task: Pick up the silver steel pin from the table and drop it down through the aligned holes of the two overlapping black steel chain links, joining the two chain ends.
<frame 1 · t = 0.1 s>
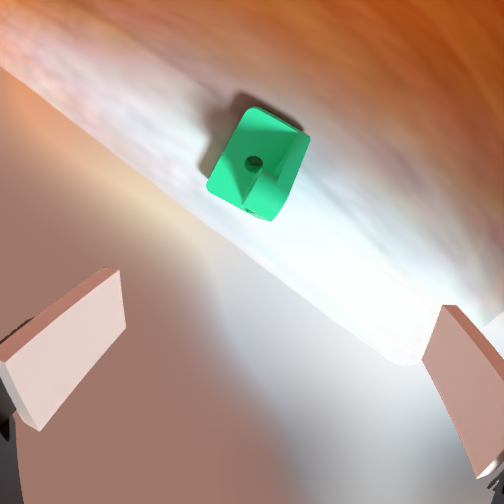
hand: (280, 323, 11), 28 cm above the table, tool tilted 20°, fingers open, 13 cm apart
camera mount: (256, 157, 36), on the table
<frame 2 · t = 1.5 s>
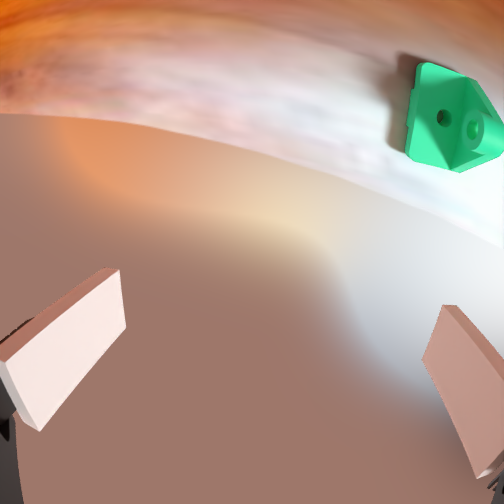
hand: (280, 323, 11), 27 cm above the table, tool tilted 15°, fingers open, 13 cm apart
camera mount: (434, 114, 28), on the table
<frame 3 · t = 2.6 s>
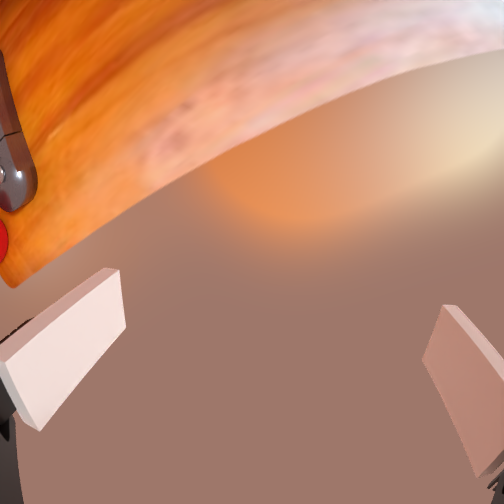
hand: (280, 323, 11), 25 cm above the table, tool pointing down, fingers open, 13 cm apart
chain end b: (1, 121, 32), on the table
chain end a: (1, 121, 32), on the table
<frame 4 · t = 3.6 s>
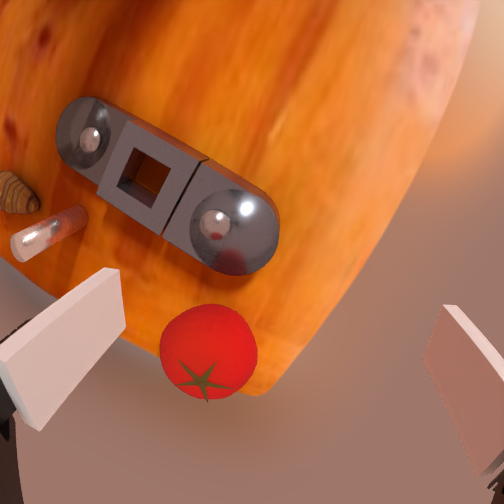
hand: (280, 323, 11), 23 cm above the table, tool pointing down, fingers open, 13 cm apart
chain end b: (157, 172, 32), on the table
croissant: (18, 189, 36), on the table
tomato: (218, 327, 40), on the table
steel pin: (79, 216, 36), on the table
chain end a: (157, 172, 32), on the table
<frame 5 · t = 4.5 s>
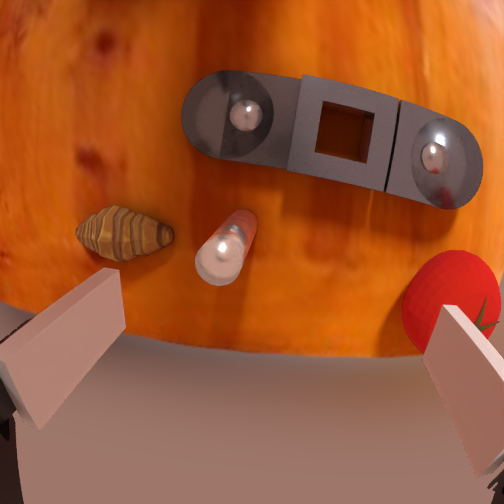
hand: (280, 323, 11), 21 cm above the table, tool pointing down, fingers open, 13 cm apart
chain end b: (338, 134, 28), on the table
croissant: (126, 229, 34), on the table
tomato: (434, 286, 32), on the table
steel pin: (242, 223, 32), on the table
chain end a: (338, 134, 28), on the table
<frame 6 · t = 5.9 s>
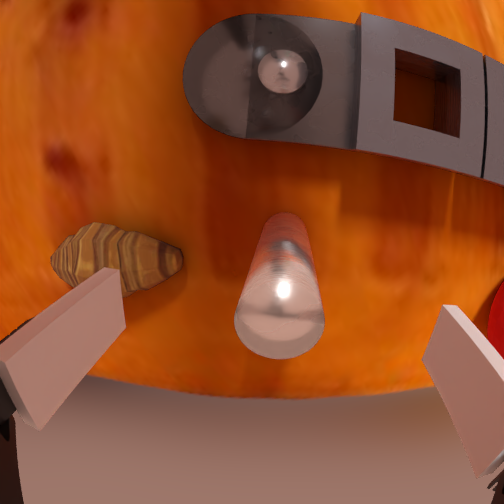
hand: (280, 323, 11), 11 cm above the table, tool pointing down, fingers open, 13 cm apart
chain end b: (406, 101, 17), on the table
croissant: (116, 253, 24), on the table
steel pin: (284, 234, 22), on the table
chain end a: (406, 101, 17), on the table
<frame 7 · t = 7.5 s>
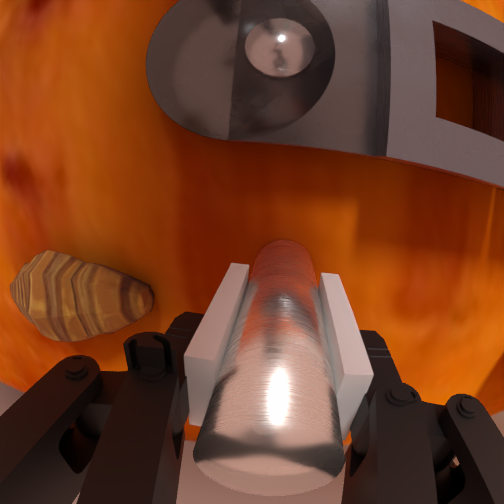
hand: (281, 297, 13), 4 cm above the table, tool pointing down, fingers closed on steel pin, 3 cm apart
chain end b: (441, 94, 12), on the table
croissant: (79, 285, 19), on the table
steel pin: (283, 268, 16), on the table, touching gripper
chain end a: (441, 94, 12), on the table
when the fingers open (5 cm above the table, at t = 12.5 s): steel pin stays where it is, on the table.
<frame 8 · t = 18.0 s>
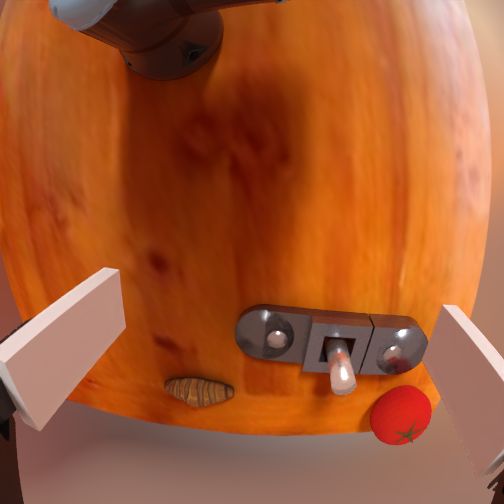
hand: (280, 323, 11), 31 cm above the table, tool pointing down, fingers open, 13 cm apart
chain end b: (334, 335, 45), on the table
croissant: (199, 383, 52), on the table
tomato: (395, 396, 49), on the table
steel pin: (334, 335, 46), on the table
chain end a: (334, 335, 45), on the table
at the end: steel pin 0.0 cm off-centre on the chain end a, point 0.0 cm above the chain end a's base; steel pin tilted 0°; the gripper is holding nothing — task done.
